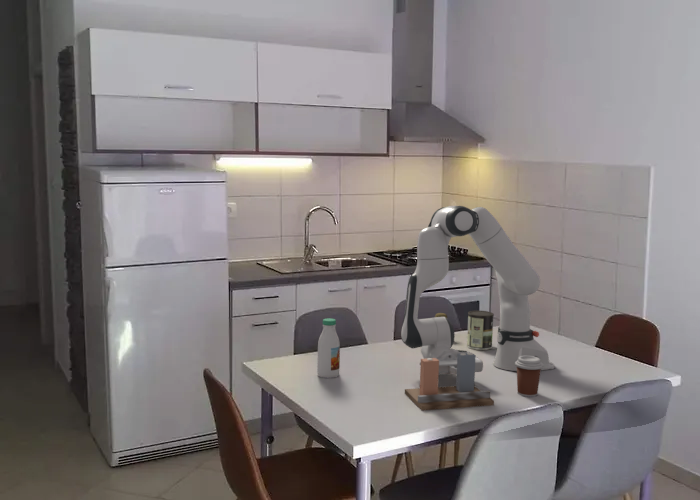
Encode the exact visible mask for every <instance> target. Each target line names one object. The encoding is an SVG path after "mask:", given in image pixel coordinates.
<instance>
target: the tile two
mask: <svg viewBox="0 0 700 500" xmlns="http://www.w3.org/2000/svg"><path fill="white" fill-rule="evenodd" d="M476 357H477V356H476V355H475V354H474V353H473V352H470V353H459V354H458V355H457V375H456V382H455V383H456V384H455V386H456V389H457V390H458V391H459V392H468V391H474V386H475V378H476V377H475V376H476V372H475V358H476Z"/></svg>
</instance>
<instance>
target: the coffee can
mask: <svg viewBox="0 0 700 500" xmlns="http://www.w3.org/2000/svg"><path fill="white" fill-rule="evenodd" d="M467 315H468V317H467V336H466V338H467V341H466V343H467V344H466V347H467V348H468V349H471V350H477V351H488V350H491V349H493V333H494V332H493V331H494V315H495V314H494V313H493V312H491V311H487V310H470V311H468V312H467Z"/></svg>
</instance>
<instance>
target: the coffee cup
mask: <svg viewBox="0 0 700 500" xmlns="http://www.w3.org/2000/svg"><path fill="white" fill-rule="evenodd" d="M515 366H516V367H517V371H516V385H517V388H516V389H517V394H518V395H519V396H522V397H525V398H526V397H527V398H533V397H537V396H538V394H539V384H540V380H541V379H540V378H541V371H542V370H541V369H542V368H543V364H542V363H541V362H540V359H539V358H538V357H534V356H520V357H519V358H518V360H517V361H516V362H515Z"/></svg>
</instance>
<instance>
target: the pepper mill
mask: <svg viewBox="0 0 700 500" xmlns="http://www.w3.org/2000/svg"><path fill="white" fill-rule="evenodd" d="M434 317H445V318H447V319H448V315H447V313H443V312H437V313H435V315H434Z"/></svg>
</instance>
